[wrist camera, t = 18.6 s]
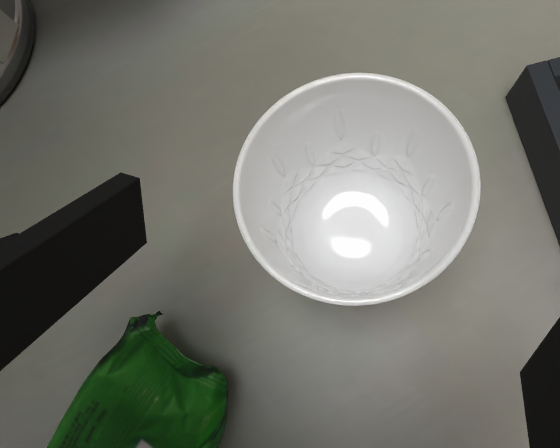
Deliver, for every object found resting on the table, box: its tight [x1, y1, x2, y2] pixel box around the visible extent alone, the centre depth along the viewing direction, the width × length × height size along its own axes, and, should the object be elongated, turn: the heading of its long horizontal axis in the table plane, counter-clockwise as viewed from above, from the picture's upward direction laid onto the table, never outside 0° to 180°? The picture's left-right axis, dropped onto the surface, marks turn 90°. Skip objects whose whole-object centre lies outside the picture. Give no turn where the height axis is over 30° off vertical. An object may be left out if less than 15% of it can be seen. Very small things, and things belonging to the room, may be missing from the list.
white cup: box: [233, 73, 481, 306], centre depth 18 cm, size 8×8×10 cm
